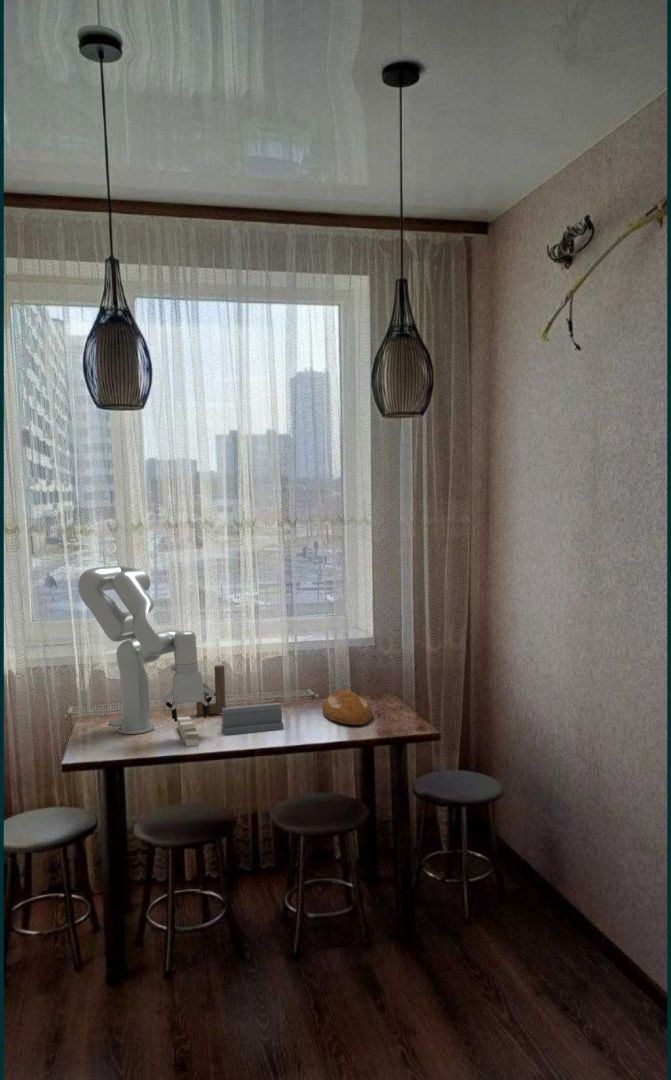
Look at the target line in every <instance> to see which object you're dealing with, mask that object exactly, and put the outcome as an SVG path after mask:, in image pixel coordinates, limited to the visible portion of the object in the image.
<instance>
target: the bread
mask: <svg viewBox="0 0 671 1080" xmlns="http://www.w3.org/2000/svg"><path fill="white" fill-rule="evenodd" d="M321 710H322V713H323V715H324V717H326V718H327V719H329V720H331V721H334V722H337V723H339V724H343V725H344V724H345V725H350V726H361V725H364V724H366V723H368V722H369V721H370V720H371V719H372V718H373V708H372V706H371V704H370V702H369V701H367V700H366V699H364V698H362V697H360V696H358V695H357V694H356V693H355V692H354V691H352V690H348V689H339V690H336V691H335V692H334V693H332V694H330V695H328V697H326V699H325V700H324V701H323V704H322V709H321Z"/></svg>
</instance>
